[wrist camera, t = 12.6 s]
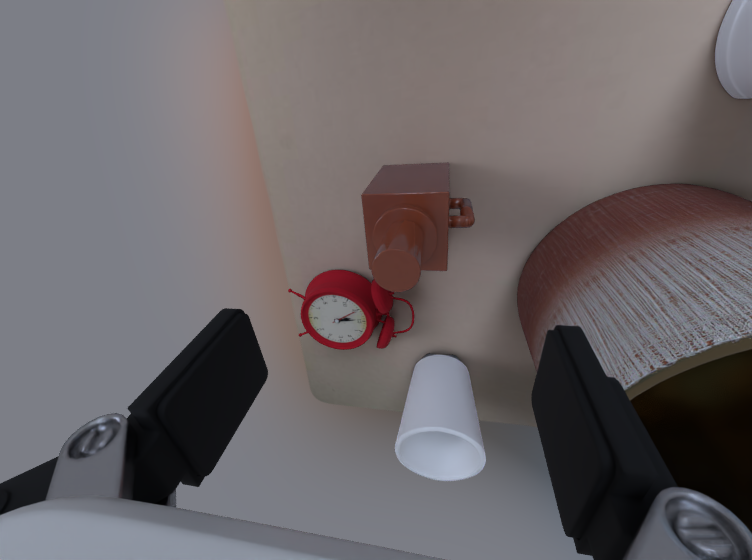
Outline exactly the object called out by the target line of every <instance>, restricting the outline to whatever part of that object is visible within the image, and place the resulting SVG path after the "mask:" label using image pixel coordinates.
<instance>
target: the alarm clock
mask: <svg viewBox="0 0 752 560" xmlns="http://www.w3.org/2000/svg"><path fill="white" fill-rule="evenodd" d="M288 292H292V293H294V294H296V295H297V296H299V297H301V298H303V299H304V302H303V304H302V308H301V319H302V323H303V325H304V327H305V329H306V332H304V333H302V334H301V333H300V334H299V336H300V337H301V336H302V335H304V334H306V333H309V334H310V335H311V336H312V337H313V338H314V339H315V340H316V341H318V342H319V343H321V344H323V345H325V346H328V347H331V348H334V349H342V350H345V349H353V348H356V347H359V346H361V345H362V344H364V343H365V342H366V341H367V340H368V339H369V338H370V336H371V335H372V333H373V330H374V328H375V327H376V326H377V325H378V324H379V322H382V323H384V324H383V327H382V330H381V333H380V336H379V339H378V343H377V348H381V349H382V348H385V347H386V346H387V345H388V344H389V342H390V340H391V338H392V337H395V338H396V337H397V336H396V335H394V334H395V333H404V332H407V331H409V330H410V329H411V328H412V326H413V324H414V310H413V307H412V305H411V304H410V302H408V301H407V300H405V299H402V298H396V297H393V295H392V294H394V292H392V291H389V290H386V289H384V288H382V287H381V286H380V285H379V284H378V283H377V282H376V281H375V279H374V280H373V281H372V283H370V282H369V281H368V280H367V279H365V278H364V277H362V276H361V275H358V274H356V273H353V272H350V271H346V270H330V271H326V272H323V273H321V274H319V275H318V276H316V277H315V278H314V279H313V280H312V281H311V282H310V284H309V285H308V287H307V290H306V293H305V296H303V295H301V294H299V293H296V292H294V291H292V289H289V290H288ZM393 299H396V300H401V301H404V302H406V303H407V304H408V305H409V306H410V308H411V311H412V323H411V326H410V327H409V328H408V329H406V330H403V331H397V332H393V331H394V325H395V324H394V320H393V318H392V317H390V316H389V311H390V310H391V309H392V306H393ZM382 315H387V316H386V319H385V321H382V320H381V318H382Z"/></svg>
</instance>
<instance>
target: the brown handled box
mask: <svg viewBox="0 0 752 560" xmlns="http://www.w3.org/2000/svg"><path fill="white" fill-rule="evenodd" d="M449 194H450V190H449V163H448V162H447V163H426V164H405V165H384V166H382V168H381V169H380V170H379V172H378V173H377V174H376V176H375V177H374V179H373V180H372V181H371V183H370V184H369V185H368V187H367V188H366V189H365V191H364V192H363V193H362V195H361V196H362V206H363V215H364V224H365V233H366V243H367V252H368V261H369V269H370V270H372V275H373V277H374V279H375V281H376V282H377V283H378V284H379V285H380V286H381V287H382V288H384V289H386V290H389V291H392V292H403V291H407V290H409V289H411V288H412V287H414V286H415V285H416V284H417V283H418V281H419V279H420V275H421V270H426V271H447V259H448V228H467V227H471V226H472V225H473V224H474V222H475V219H474V213H473V208H472V203H471V200H470V199H468V198H449ZM449 209H460V215H461V216H449Z"/></svg>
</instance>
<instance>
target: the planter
mask: <svg viewBox="0 0 752 560" xmlns="http://www.w3.org/2000/svg"><path fill="white" fill-rule="evenodd" d="M517 304H518V312H519V317H520V321H521V325H522V328H523V331H524V334H525V337H526V340H527V343H528V347H529V350H530V353H531V356H532V359H533V362H534V365H535V368H536V371H538V367H539V363H540V358H541V354H542V350H543V346H544V342H545V338H546V334H547V331H548V330H554V328H555V326H556V325H566V326H579V327H581V328H582V330H583V332H584V334H585V335H586V337H587V339H588V341H589V343H590V345H591V347H592V349H593V351H594V353H595V355H596V356H597V358H598V360H599V362H600V364H601V366H602V368H603V370H604V372H605V374H606V376H607V377H614V378H616V379H617V380H618V381H619V383H620V384H621V385H622V387H623V389H624V391H625V392H626V394H627V396H628V398H629V400H630V401H631V403H632V405H633V407H634V409H635V410H636V412H637V414H638V416H639V418H640V419H641V421H642V423H643V425H644V427H645V428H646V430H647V432H648V434H649V436H650V437H651V439H652V441H653V443H654V445H655V446H656V448H657V450H658V452H659V454H660V455H661V457H662V459H663V461H664V463H665V464H666V466H667V468H668V470H669V472H670V473H671V475H672V477H673V479H674V481H675V482H676V484H677V486H678V488H687V489H690V490H693V491H697V492H700V493H702V494H704V495H706V496H708V497H710V498H712V499H713V500H715V501H717V502H718V503H720V504H721V505H723V506H724V507H725V508H727V509H728V510H729V511H731V512H732V513H733V514H734V515H735V516H736V517H737V518H738V519H739V520H740V521H741V522H742V523H743V524H745V525H746V527H747V528H748V529H749V531H750V532H751V533H752V202H751V201H749V200H746V199H744V198H741V197H739V196H736V195H734V194H731V193H728V192H724V191H721V190H717V189H713V188H709V187H703V186H697V185H689V184H659V185H651V186H644V187H639V188H634V189H630V190H626V191H622V192H619V193H616V194H613V195H610V196H608V197H605V198H603V199H600V200H598V201H596V202H594V203H591V204H589V205H587V206H586V207H584V208H582V209H580V210H579V211H577V212H575V213H574V214H572V215H571V216H569V217H568V218H566V219H565V220H564V221H562V222H561V223H560V224H558V225H557V226H556V227H555V228H554V229H553V230H552V231H550V232H549V233H548V234H547V235H546V236H545V238H544V239H543V240H542V241H541V242H540V243H539V244H538V246H537V247H536V248H535V249H534V251H533V252H532V254H531V255H530V257H529V259H528V260H527V262H526V264H525V266H524V269H523V271H522V274H521V277H520V280H519V284H518V292H517Z"/></svg>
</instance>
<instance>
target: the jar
mask: <svg viewBox="0 0 752 560" xmlns="http://www.w3.org/2000/svg"><path fill="white" fill-rule="evenodd" d="M715 66H716V71H717V75H718V78H719V80H720V82H721V84H722V86H723V87H724V89H725V90H726V91H727V92H728V93H729V94H730V95H731V96H732V97H733V98H739V99H751V98H752V0H733V1H732V3H731V4H730V6H729V8H728V10H727V12H726V14H725V17H724V19H723V22H722V24H721V27H720V30H719V33H718V37H717V42H716V49H715Z"/></svg>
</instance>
